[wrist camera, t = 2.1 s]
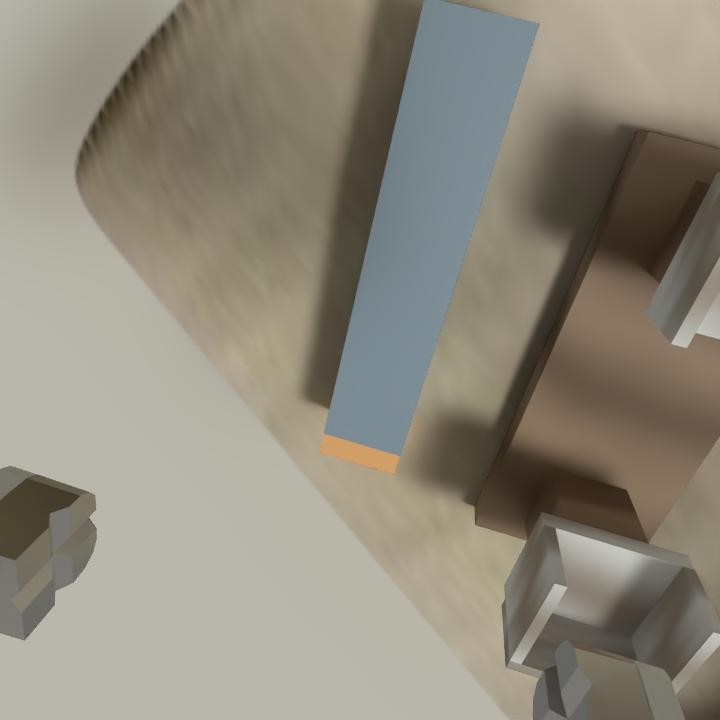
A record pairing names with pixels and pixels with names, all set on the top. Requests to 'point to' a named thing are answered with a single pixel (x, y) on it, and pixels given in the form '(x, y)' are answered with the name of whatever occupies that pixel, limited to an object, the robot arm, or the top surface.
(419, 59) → the rail
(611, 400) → the stand
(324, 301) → the top surface
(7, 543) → the robot arm
